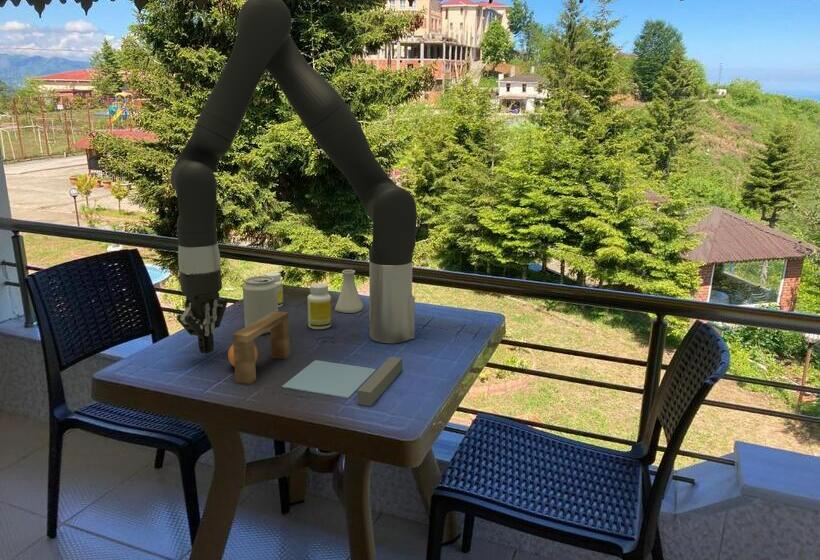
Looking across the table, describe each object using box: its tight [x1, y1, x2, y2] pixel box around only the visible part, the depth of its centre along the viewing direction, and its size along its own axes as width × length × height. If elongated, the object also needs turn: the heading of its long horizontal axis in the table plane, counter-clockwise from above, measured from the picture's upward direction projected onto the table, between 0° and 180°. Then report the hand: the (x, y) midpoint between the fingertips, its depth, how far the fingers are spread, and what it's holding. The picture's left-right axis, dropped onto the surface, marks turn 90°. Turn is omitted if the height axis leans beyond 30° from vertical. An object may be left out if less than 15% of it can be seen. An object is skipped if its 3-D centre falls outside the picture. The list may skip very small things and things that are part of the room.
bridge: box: [232, 310, 291, 385], centre depth 115 cm, size 3×14×9 cm, turn 161°
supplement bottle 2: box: [306, 282, 333, 330], centre depth 139 cm, size 5×5×10 cm
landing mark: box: [281, 359, 377, 399], centre depth 112 cm, size 13×13×1 cm
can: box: [242, 275, 279, 335], centre depth 136 cm, size 8×8×12 cm
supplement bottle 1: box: [263, 271, 284, 308], centre depth 154 cm, size 5×5×8 cm
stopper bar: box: [356, 356, 403, 407], centre depth 109 cm, size 2×16×2 cm, turn 162°
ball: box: [227, 344, 259, 368], centre depth 116 cm, size 6×6×6 cm
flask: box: [334, 269, 364, 314], centre depth 152 cm, size 7×7×10 cm
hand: (206, 352), depth 120 cm, fingers closed
